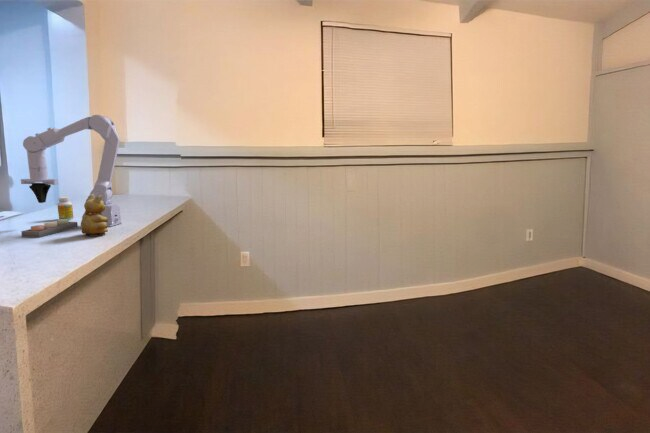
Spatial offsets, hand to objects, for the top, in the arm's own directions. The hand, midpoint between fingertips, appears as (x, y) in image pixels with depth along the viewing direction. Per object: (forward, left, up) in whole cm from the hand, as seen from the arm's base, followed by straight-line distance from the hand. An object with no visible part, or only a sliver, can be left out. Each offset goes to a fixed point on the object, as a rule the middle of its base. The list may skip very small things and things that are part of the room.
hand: (42, 202), depth 157 cm
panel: (-9, +7, -10) cm, 15 cm away
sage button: (-9, +1, -9) cm, 12 cm away
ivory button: (-9, +7, -9) cm, 14 cm away
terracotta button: (-9, +13, -9) cm, 18 cm away
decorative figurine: (-29, +10, -10) cm, 32 cm away
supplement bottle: (+4, -16, -10) cm, 19 cm away
